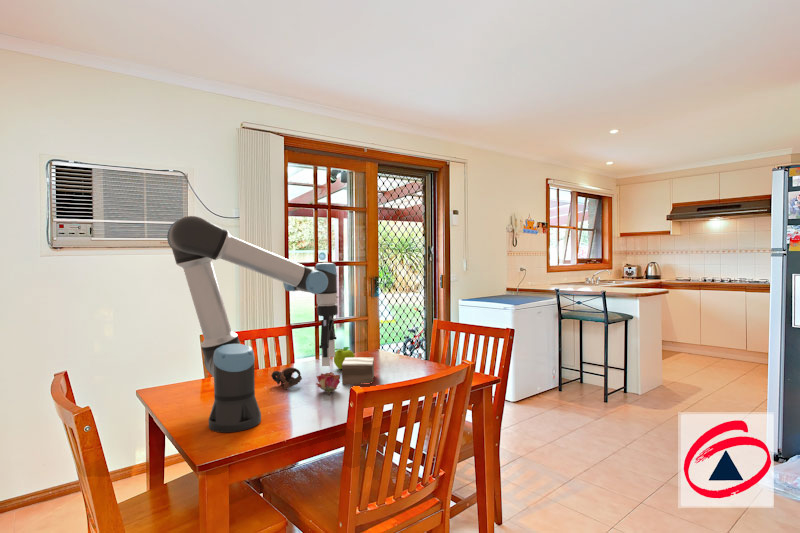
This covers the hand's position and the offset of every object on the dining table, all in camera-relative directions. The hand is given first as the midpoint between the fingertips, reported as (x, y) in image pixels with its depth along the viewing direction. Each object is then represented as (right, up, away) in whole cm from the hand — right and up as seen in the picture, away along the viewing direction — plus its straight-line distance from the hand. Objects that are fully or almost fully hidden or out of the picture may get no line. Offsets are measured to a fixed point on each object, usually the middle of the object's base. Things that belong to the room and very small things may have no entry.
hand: (328, 361), depth 169 cm
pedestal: (+10, -11, +16) cm, 22 cm away
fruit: (+2, -11, +34) cm, 36 cm away
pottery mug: (-18, -12, +9) cm, 23 cm away
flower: (0, -12, 0) cm, 12 cm away
